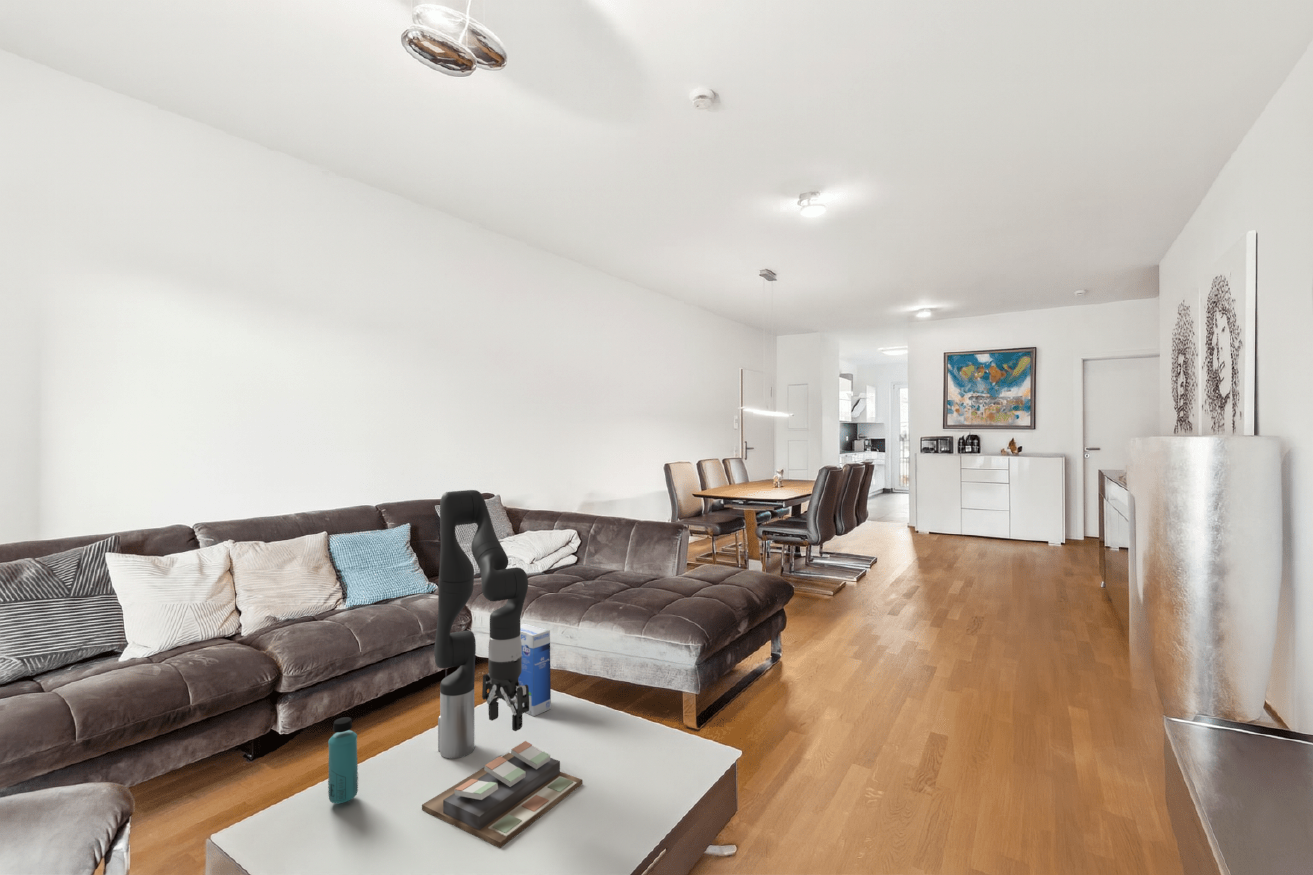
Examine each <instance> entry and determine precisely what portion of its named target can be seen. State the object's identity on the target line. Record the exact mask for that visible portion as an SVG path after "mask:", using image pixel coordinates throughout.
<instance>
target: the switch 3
mask: <svg viewBox="0 0 1313 875" xmlns="http://www.w3.org/2000/svg"><path fill="white" fill-rule="evenodd" d="M510 753H511V754H512V755H514V756H515V757H517V758H519V759H520V760H522V761H523V762H525V763H527V764H528V765H530V766H532V767H533V768H535V769H538V768H539V767H541V766H542V765H544V764H545V763H547V762H548V761H550V758H551V754H549V753H547V752H545V751H543V750H542V749H539V748H538V747H536V746H534V745H533V744H532V743H530V742H528V741H527V740H525V741H522V742H521V743H519V744H518V745H516V746H514V747H513V748H511V751H510Z"/></svg>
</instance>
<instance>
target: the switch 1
mask: <svg viewBox="0 0 1313 875" xmlns="http://www.w3.org/2000/svg"><path fill="white" fill-rule="evenodd" d="M497 789H498V784H497V783H495V782H484V781H478V780H476V779H470V780H469V781H467V782H466V783H464V784H462V785H461V786H459V787H457V788H456V789H455V795H457V796H463V797H468V798H474V799H479V800H482V799H484V798H485V797H487V796H488V795H490V794H491V793H493V792H494V791H496V790H497Z"/></svg>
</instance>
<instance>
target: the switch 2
mask: <svg viewBox="0 0 1313 875" xmlns="http://www.w3.org/2000/svg"><path fill="white" fill-rule="evenodd" d="M483 768H484V770H485V771H486V772H488V773H489V774H491V775H493V776H494V777H496V778H497V779H499V780H500V781H502V782H503V783H505V784H506V785H508V786H509V787H511V786H513V785H514V784H516V783H517V782H518V781H520V780H521V779H523V778H524V777H525V774H526V772H525V771H524V770H522V769H520V768H519V767H516V766H515V765H513V764H511V763H510V762H508V761H507V760H506V759H504V758H503V757H502V756H501V755H500V756H497V757H496V758H495V759H492V760H491V761H489V762H488V763H486V764H484V767H483Z"/></svg>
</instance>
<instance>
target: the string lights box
mask: <svg viewBox="0 0 1313 875" xmlns="http://www.w3.org/2000/svg"><path fill="white" fill-rule="evenodd" d="M520 635H521V643H522V672H521V674H520V676H519V678H518V681H519V685H522V686H523V685H528V687H529V711H527V712H525V713H524V714H528V715H530V716H532V717H535V716H538V715H541V714H542V713H544V712H547V711H549V710H551V709H552V700H551V698H552V693H551V692H552V690H551V688H552V686H551V679H552V678H551V630H550V629H548V628H547V629H546V628H542V627H539V626H536V625H531V624H528V623H522V624H520ZM515 699H516V696H515V697H514V698H513V699H511V700H515ZM522 705H523V707H524V703H523V704H522ZM515 707H516V709H517V704H515Z"/></svg>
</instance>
